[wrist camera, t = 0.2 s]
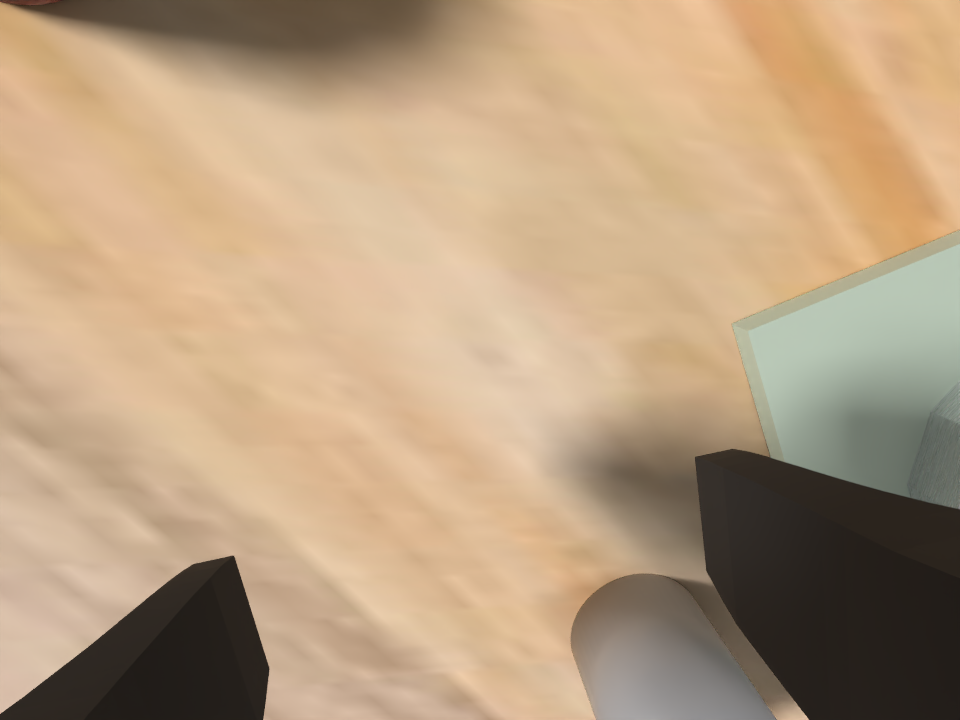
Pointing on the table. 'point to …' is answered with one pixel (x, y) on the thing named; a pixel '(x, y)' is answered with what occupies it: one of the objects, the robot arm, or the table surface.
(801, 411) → the plate
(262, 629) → the table surface
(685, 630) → the grey rounded block
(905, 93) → the table surface
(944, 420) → the duct collar
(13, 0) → the supplement bottle
